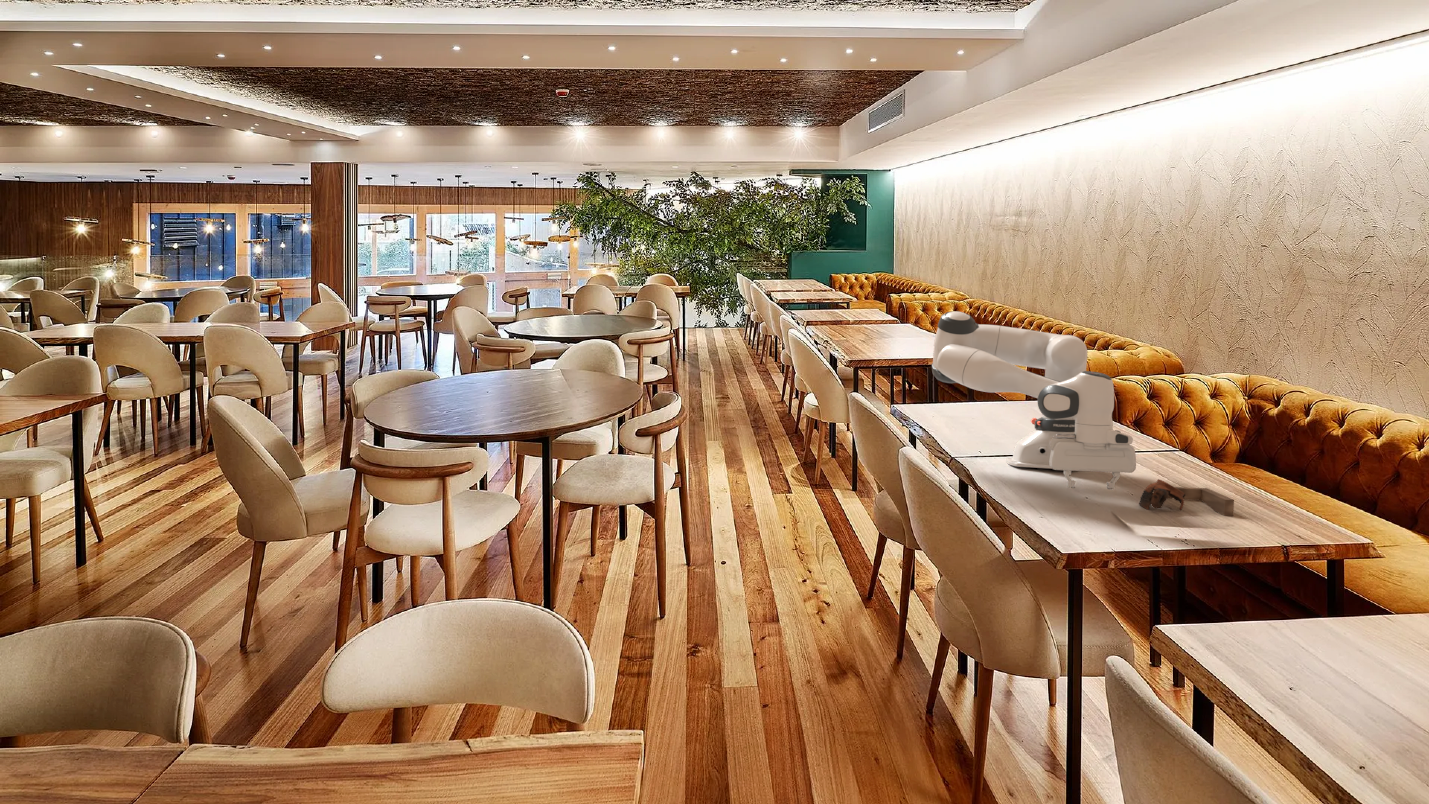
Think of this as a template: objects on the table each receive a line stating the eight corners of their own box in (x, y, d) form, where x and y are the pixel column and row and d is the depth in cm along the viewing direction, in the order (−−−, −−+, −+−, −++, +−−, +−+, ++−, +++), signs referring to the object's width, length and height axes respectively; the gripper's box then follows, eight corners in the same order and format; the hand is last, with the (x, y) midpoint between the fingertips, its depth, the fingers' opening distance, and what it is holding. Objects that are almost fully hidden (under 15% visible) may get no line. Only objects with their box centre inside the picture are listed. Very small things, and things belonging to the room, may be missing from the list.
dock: (1175, 513, 201) (1176, 497, 200) (1152, 501, 216) (1153, 486, 216) (1233, 516, 198) (1234, 499, 198) (1206, 503, 214) (1206, 488, 214)
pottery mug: (1136, 503, 213) (1154, 477, 211) (1172, 524, 208) (1191, 497, 207) (1133, 501, 203) (1152, 473, 201) (1170, 523, 198) (1190, 494, 196)
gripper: (1053, 435, 206) (1050, 488, 207) (1139, 437, 202) (1136, 492, 204) (1047, 432, 212) (1045, 484, 213) (1131, 434, 209) (1128, 487, 210)
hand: (1090, 488), depth 208 cm, fingers open, 8 cm apart
